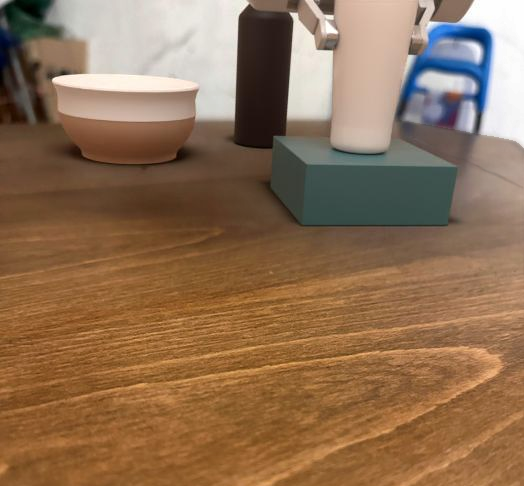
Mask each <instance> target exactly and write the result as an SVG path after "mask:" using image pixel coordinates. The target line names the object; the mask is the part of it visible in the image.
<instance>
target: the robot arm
mask: <svg viewBox="0 0 524 486" xmlns="http://www.w3.org/2000/svg"><path fill="white" fill-rule="evenodd" d="M246 2H247V3H248V4H250V5H251V6H252V7H253V8H254V9H256V10H259V11H273V12H289V13H290V14H297V17H298V18H297V19H298V21H299V22H300V23H301V24H302V26H304V27H305V29H306V30H307V31H308V32H309V33H310V34H311V35H312V36H313V38H314V46H315V49H316V51H329V52H333V51H334V50H335V44H337V42H338V30H337V25H336V21H335V20H333V19H329V18H327V17H326V16H334V0H246ZM473 3H475V0H419V2H418V8H417V14H416V19H415V25H414V29H413V34H412V39H411V43H410V48H409V52H408V56H423V55H424V53H425V51H426V49H427V48H428V46H429V33H428V30H427V26H428V24H429V22H431V23H433V22H434V23H449V24H458V23H459V22H461V21H462V19H464V18H465V16H466V14H467V13H468V11H469V10H470V8H471V7H472V5H473Z"/></svg>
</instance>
